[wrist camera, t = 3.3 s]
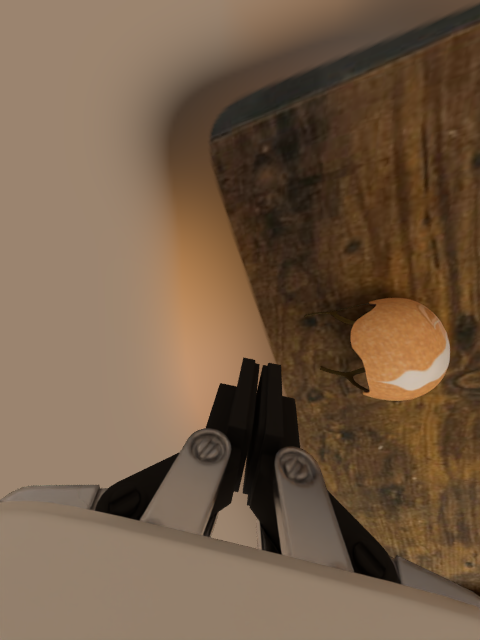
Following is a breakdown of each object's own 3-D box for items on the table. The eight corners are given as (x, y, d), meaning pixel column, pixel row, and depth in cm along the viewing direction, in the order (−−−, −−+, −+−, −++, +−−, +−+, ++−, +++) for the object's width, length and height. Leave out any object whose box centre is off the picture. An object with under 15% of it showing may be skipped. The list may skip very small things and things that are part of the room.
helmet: (341, 348, 23) (462, 359, 17) (303, 400, 19) (443, 438, 13) (326, 286, 21) (456, 275, 15) (278, 329, 17) (432, 337, 11)
